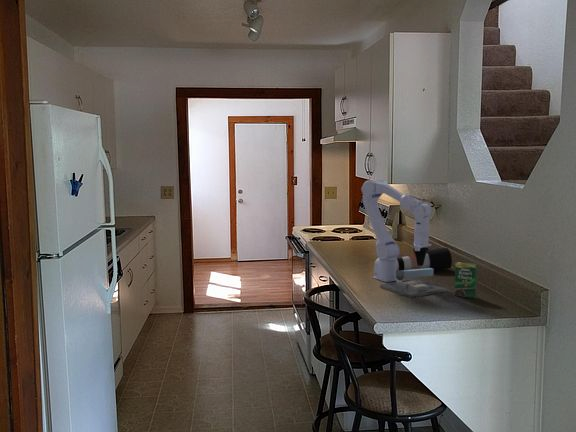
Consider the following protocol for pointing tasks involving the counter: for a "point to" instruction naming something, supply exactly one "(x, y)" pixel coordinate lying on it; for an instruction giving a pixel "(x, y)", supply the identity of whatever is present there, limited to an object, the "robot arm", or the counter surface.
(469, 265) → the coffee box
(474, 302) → the counter surface
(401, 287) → the chassis
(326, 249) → the counter surface
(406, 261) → the black banded cylinder
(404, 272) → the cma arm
